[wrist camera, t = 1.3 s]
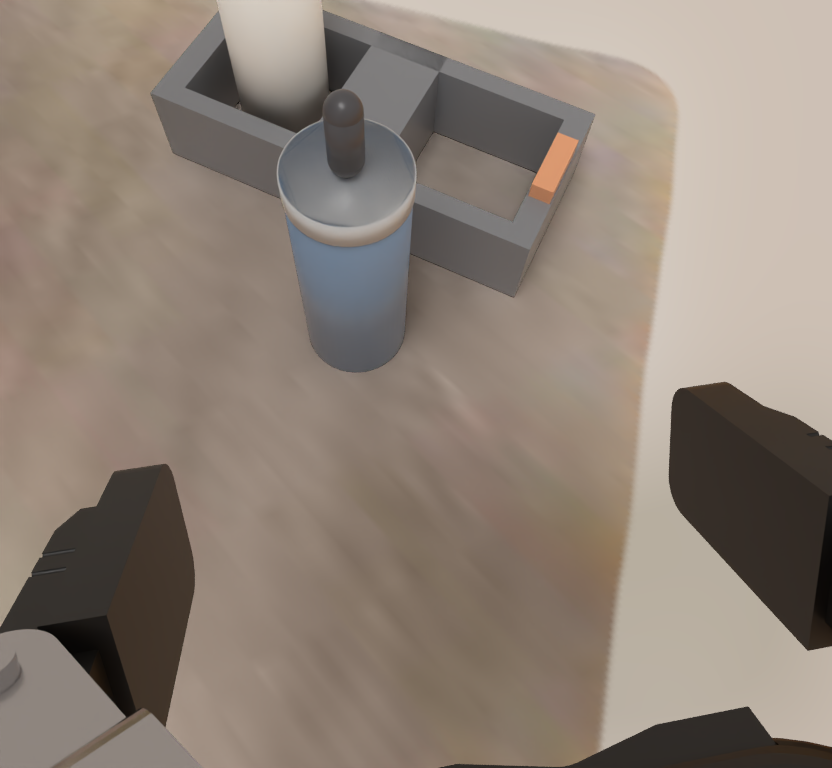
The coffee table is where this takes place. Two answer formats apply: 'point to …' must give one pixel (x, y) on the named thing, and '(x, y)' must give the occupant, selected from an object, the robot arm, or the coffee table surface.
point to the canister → (350, 232)
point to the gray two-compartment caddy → (384, 103)
